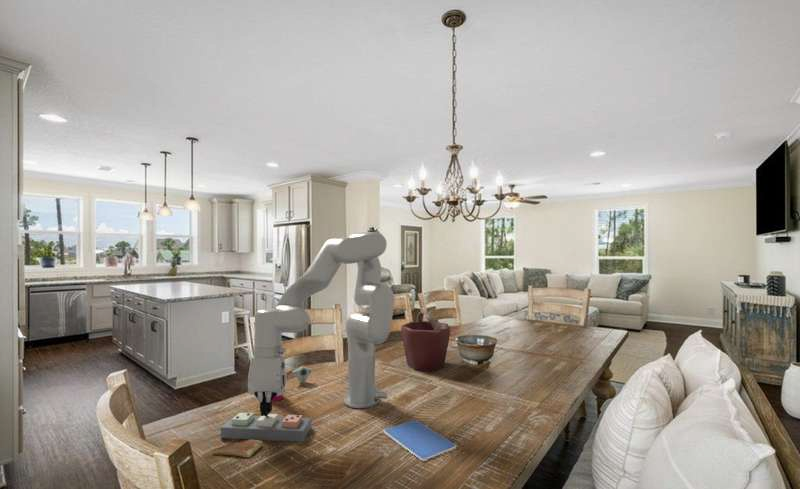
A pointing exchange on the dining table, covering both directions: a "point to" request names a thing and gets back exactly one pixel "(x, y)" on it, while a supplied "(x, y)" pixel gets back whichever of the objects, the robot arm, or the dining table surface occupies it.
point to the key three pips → (292, 421)
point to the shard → (240, 448)
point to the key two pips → (242, 419)
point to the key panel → (266, 431)
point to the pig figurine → (302, 373)
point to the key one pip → (267, 420)
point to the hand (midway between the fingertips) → (265, 414)
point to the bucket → (425, 343)
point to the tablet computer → (419, 439)
